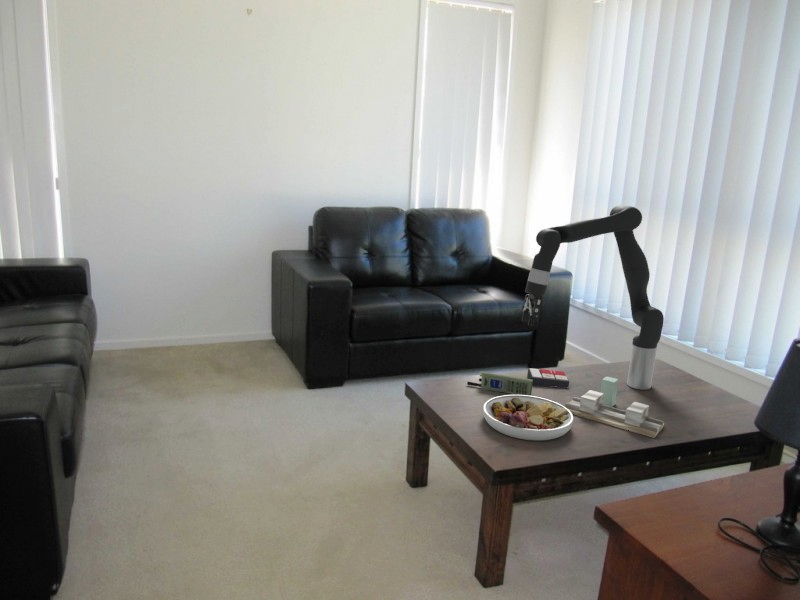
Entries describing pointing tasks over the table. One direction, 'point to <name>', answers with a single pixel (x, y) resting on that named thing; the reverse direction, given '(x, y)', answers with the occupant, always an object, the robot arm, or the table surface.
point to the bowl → (527, 417)
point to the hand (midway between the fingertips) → (527, 323)
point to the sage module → (609, 391)
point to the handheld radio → (504, 384)
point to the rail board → (615, 414)
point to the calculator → (548, 377)
